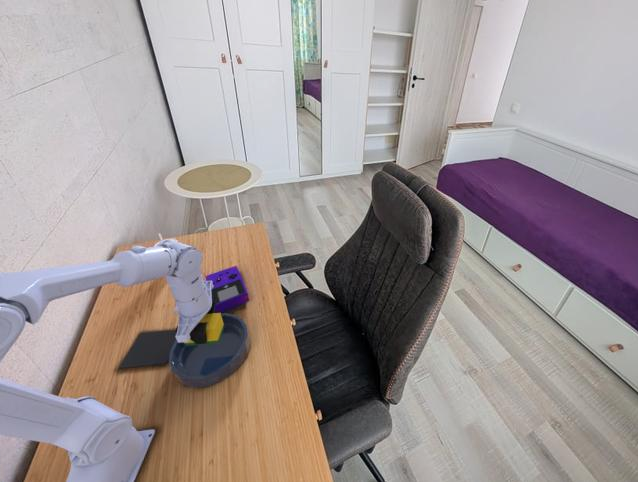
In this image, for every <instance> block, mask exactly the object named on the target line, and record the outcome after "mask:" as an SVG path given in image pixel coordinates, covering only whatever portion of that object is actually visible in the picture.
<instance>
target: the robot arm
mask: <svg viewBox="0 0 638 482" xmlns="http://www.w3.org/2000/svg"><path fill="white" fill-rule="evenodd" d="M163 240H164V241H162V242H160V241H159V242H160V243H159V244H158V245H156V244H155V245H156V246H155V245H154V246H155V247H154V246H150V247H145V246H142V245H140V244H139V245H132V246H131V249H129V250H122V251H119V252H117V253H116V254H115V255H114V256H113V257H112V258H111V259H110V260H107V261H106V260H104V261H96V262H89V263H80V264H72V265H65V266H64V265H63V266H57V267H56V266H55V267H48V268H41V269H40V268H39V269H32V270H23V271H22V270H21V271H10V272H0V362H2V361H3V359H4V357H5V356H6V355H7V354H8V352H9V351H10V350H11V349H12V347H13V346H14V345H15V343H16V342H17V341H18V339H19V337H20V336H21V335H22V332H23V331H24V329H25V326H26V323H29V324H31V325H35V324H37V323H39V321H40V319H41V317H42V316H43V314H44V313H45V311H46V309H47V307H48V305H49V303H51V302H53V301H54V300H59V299H61V298H65V297H68V296H72V295H75V294H79V293H82V292H86V291H90V290H93V289H96V288H100V287H103V286H106V285H111V284H114V283H115V284H116V285H118V286H120V287H123V288H126V287H131V286H134V285H138V284H143V283H147V282H150V281H155V280H159V279H162V278H165V280H166V283H167V286H168V287H169V290H170V292H171V295H172V297H173V299H174V302H175V307H174V308H173V313H174V314H178V315H177V316H178V318H177V320H178V321H177V326H176V328H175V330H176V333H177V334H176V336H175V337H176V339H177V342H178V343H180V342H189V340H190V339H191V340H192V341H193V342H194V343H195V344H205V343H206V341H207V335H206V326H207V323H208V322H201V323H199V322H200V320H201V319H202V318H203V317H204V316H205V315H206V314H212V313H215V305H216V301H217V299H218V297H217V295H212V294H211V289H213V287H214V286H213V283H212V281H206V280H204V277H203V274H202V271H203V270H202V263H203V260H204V254H203V252H202V251H201V252H200V251H199V249H198V248H197V247H195V246H192V245H190V244H187V243H183V242H179V241H178V242H176V241H171V240H165V239H163ZM155 433H156V430H155V428H154V429H153V428H152V429H151V428H150V429H145V430H137V429H136V428H135V427H134V425H133V419H132V417H131V416H130V415H128V414H127V415H126V414H124V413H121V412H119V411H117V410H115V409H114V408H111V407H110V406H108V405H106V404H104V403H102V402H100V401H98V400H97V399H96V397H94V396H90V395H85V396H82V397H78V398H72V397H70V396H66V397H61V396H59V395H56V394H52V393H50V392H47V391H44V390H40V389H37V388H34V387H30V386H27V385H25V384H22V383H19V382H15V381H12V380H9V379H6V378H3V377H0V436H3V437H9V438H15V439H22V440H25V441H26V440H27V441H33V442H38V443H46V444H50V445H54V446H56V447H58V448H61V449H63V450H66V451H67V453H68V458H69V459H68V460H69V461H70V469H69V473H68V474H67V475H68V476H67V478H66V480H65V482H135V481H136V479H137V476H138V473H139V471H140V468H141V467H142V464H143V461H144V459H145V457H146V455H147V452H148V450H149V448H150V445H151V443H152V441H153V438H154V436H155Z"/></svg>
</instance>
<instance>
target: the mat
mask: <svg viewBox="0 0 638 482" xmlns="http://www.w3.org/2000/svg"><path fill="white" fill-rule="evenodd" d="M176 334H177V333H176V329H169V330H158V331H146V332H140V333H139V334H138V335H137V337H136V338H135V340H134V342H133V344H132V345H131V347H130V348H129V350H128V352H127V353H126V355H125V356H124V358H123V360H122V361H121V363H120V365H119V366H118V370H125V369H135V368H146V367H153V366H163V365H167V364H169V355H170V350H171V348H172V346H173V344H174V342H175V340H176V337H175V336H176Z"/></svg>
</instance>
